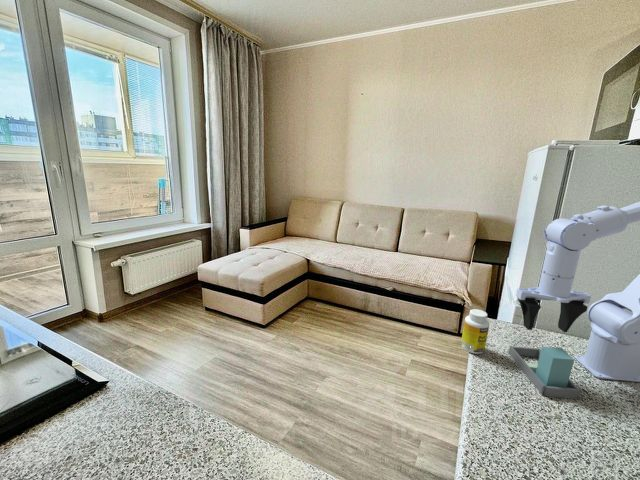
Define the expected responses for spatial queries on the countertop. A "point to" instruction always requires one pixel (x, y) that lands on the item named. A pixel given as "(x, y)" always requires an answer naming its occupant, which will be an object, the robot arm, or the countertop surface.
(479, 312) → the supplement bottle
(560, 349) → the plug
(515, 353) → the caddy
